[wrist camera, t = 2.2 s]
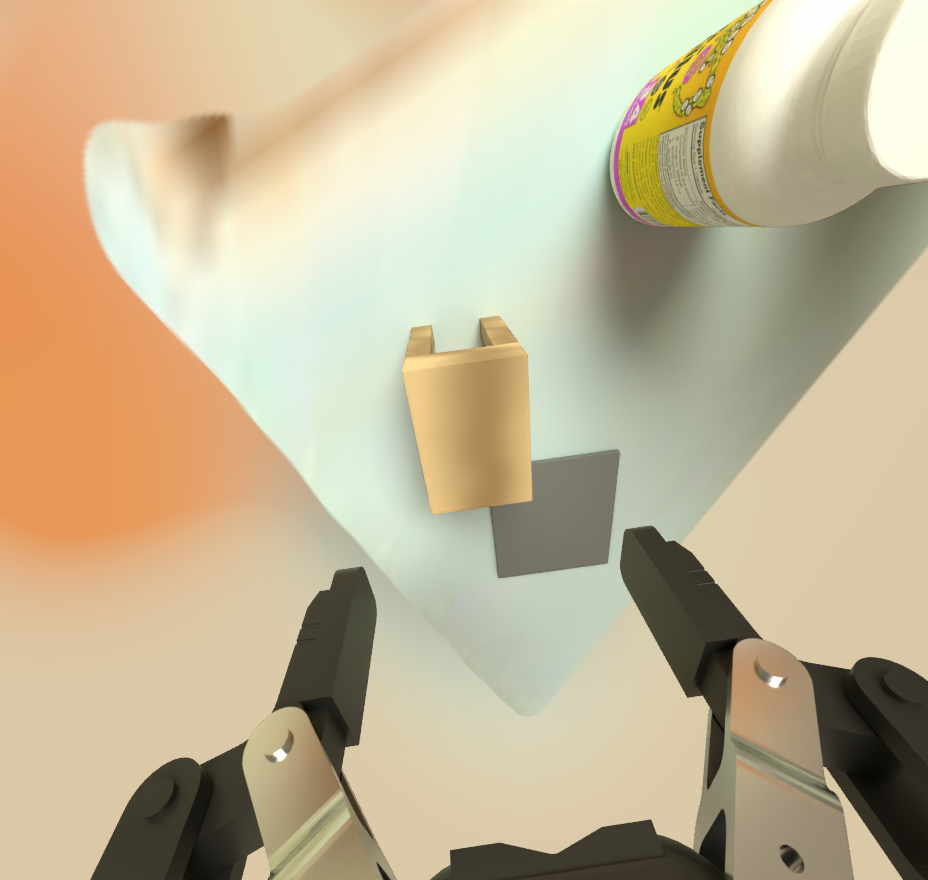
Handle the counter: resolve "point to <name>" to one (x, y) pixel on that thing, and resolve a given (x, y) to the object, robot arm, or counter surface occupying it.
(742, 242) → the counter surface
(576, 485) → the rubber mat
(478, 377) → the notched wooden block
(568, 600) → the counter surface
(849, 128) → the supplement bottle
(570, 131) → the counter surface
